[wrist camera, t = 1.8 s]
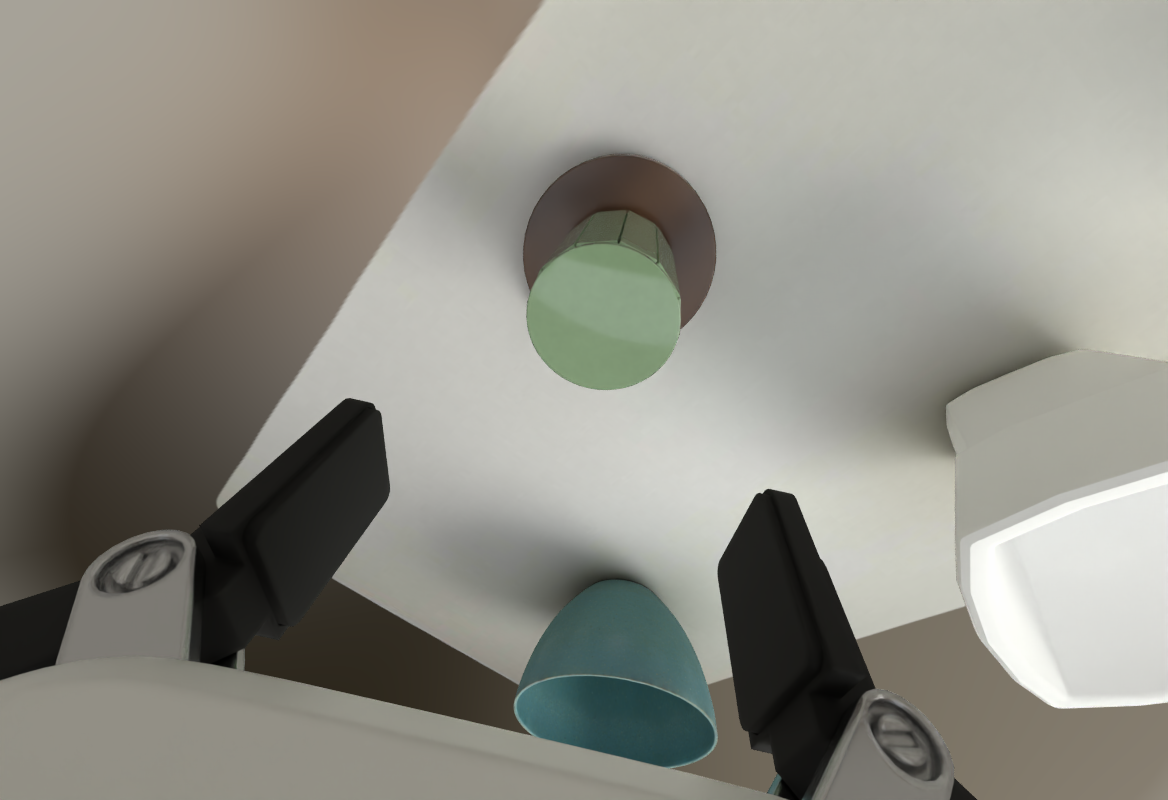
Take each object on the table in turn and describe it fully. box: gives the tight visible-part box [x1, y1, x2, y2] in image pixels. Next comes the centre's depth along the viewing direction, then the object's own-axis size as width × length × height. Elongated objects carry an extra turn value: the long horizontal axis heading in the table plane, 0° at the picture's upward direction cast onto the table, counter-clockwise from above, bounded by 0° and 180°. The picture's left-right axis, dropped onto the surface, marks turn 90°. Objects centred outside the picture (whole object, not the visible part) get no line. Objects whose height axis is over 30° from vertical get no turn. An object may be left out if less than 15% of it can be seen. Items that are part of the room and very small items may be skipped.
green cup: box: [526, 210, 681, 390], centre depth 22 cm, size 7×7×8 cm
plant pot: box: [514, 579, 718, 768], centre depth 43 cm, size 18×18×12 cm
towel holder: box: [523, 154, 716, 329], centre depth 23 cm, size 12×12×10 cm
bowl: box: [946, 349, 1168, 708], centre depth 24 cm, size 19×19×14 cm
